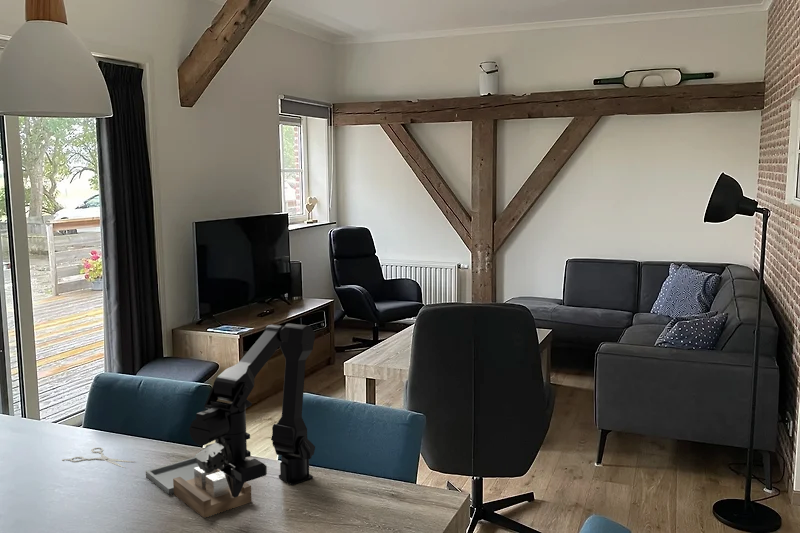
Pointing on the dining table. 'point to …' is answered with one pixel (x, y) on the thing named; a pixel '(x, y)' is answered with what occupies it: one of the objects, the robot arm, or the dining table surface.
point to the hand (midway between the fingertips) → (235, 496)
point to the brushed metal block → (217, 484)
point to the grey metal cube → (201, 477)
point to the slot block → (208, 497)
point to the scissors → (99, 458)
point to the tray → (172, 474)
